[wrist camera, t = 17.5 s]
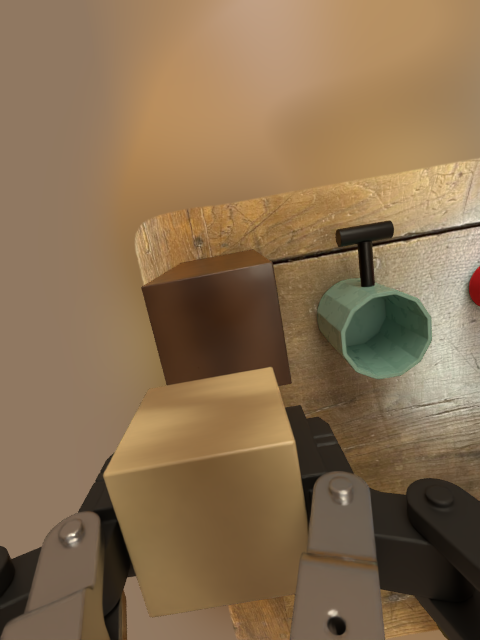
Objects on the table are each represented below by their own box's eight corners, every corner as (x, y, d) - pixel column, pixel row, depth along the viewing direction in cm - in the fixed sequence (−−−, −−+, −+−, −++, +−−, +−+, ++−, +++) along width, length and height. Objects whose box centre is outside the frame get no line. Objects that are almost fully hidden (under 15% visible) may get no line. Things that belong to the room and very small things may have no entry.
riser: (196, 332, 43) (171, 405, 25) (180, 263, 41) (140, 286, 23) (265, 320, 43) (291, 384, 25) (253, 249, 41) (272, 262, 23)
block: (176, 492, 13) (149, 620, 9) (147, 388, 12) (100, 474, 8) (290, 472, 13) (319, 591, 9) (272, 365, 12) (295, 441, 8)
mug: (307, 232, 41) (331, 232, 31) (381, 219, 41) (429, 215, 31) (320, 351, 45) (345, 384, 35) (388, 340, 44) (432, 370, 35)
